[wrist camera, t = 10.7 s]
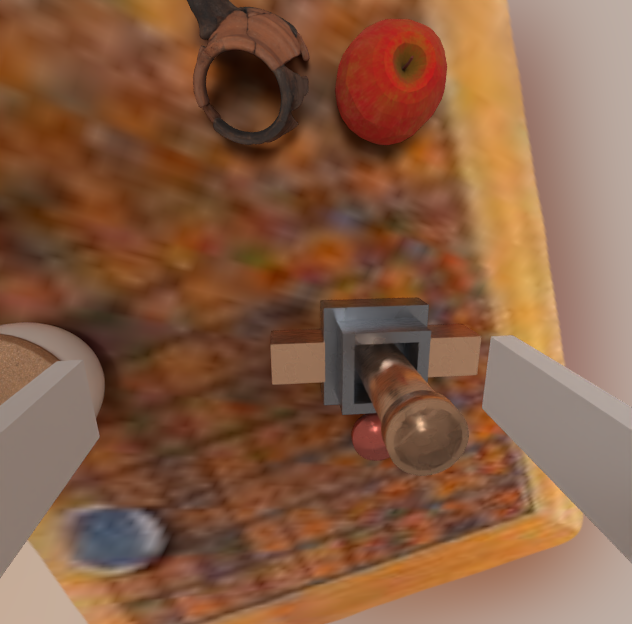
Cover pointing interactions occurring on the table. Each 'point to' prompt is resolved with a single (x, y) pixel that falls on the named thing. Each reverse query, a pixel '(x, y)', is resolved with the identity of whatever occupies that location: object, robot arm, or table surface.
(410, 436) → the pipe fitting
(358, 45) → the apple
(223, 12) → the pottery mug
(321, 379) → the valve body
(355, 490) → the table surface
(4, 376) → the lidded bowl
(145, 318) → the table surface
